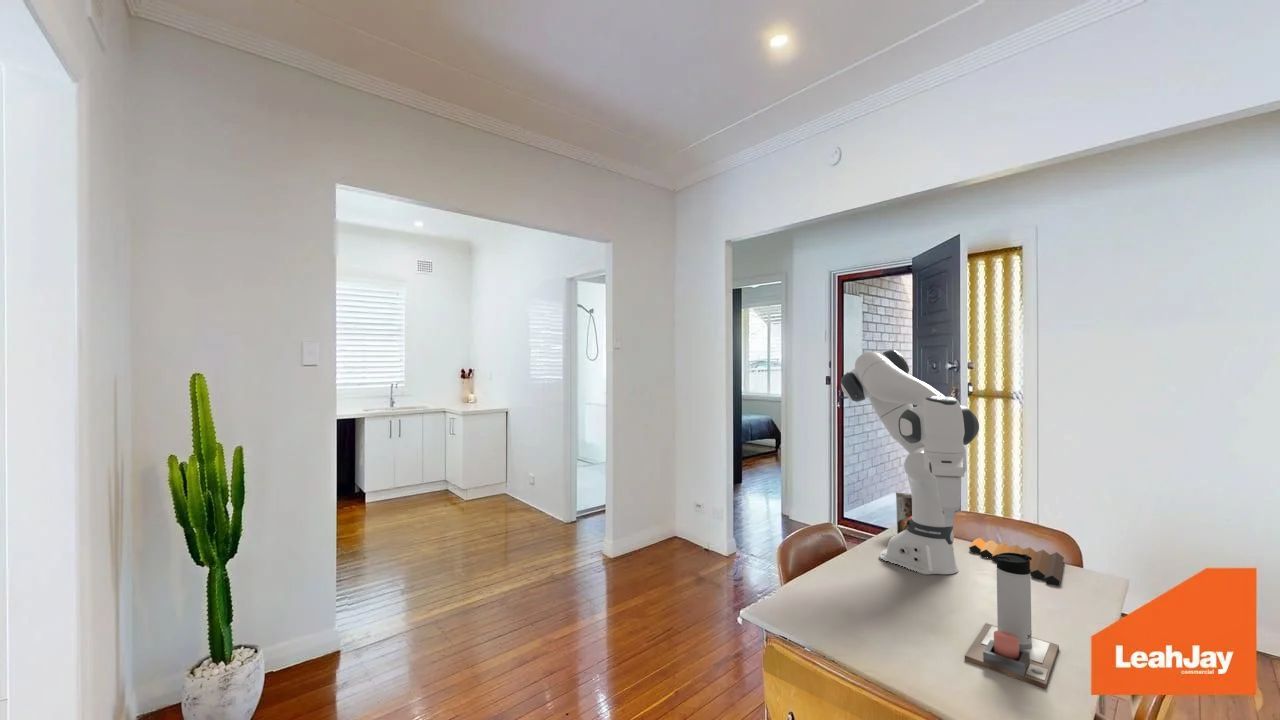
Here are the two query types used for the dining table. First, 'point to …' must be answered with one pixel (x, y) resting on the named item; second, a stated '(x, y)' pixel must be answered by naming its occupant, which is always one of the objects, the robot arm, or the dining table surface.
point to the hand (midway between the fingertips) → (948, 519)
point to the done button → (1006, 644)
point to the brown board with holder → (1028, 668)
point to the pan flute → (1040, 561)
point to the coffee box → (903, 510)
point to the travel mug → (1014, 596)
